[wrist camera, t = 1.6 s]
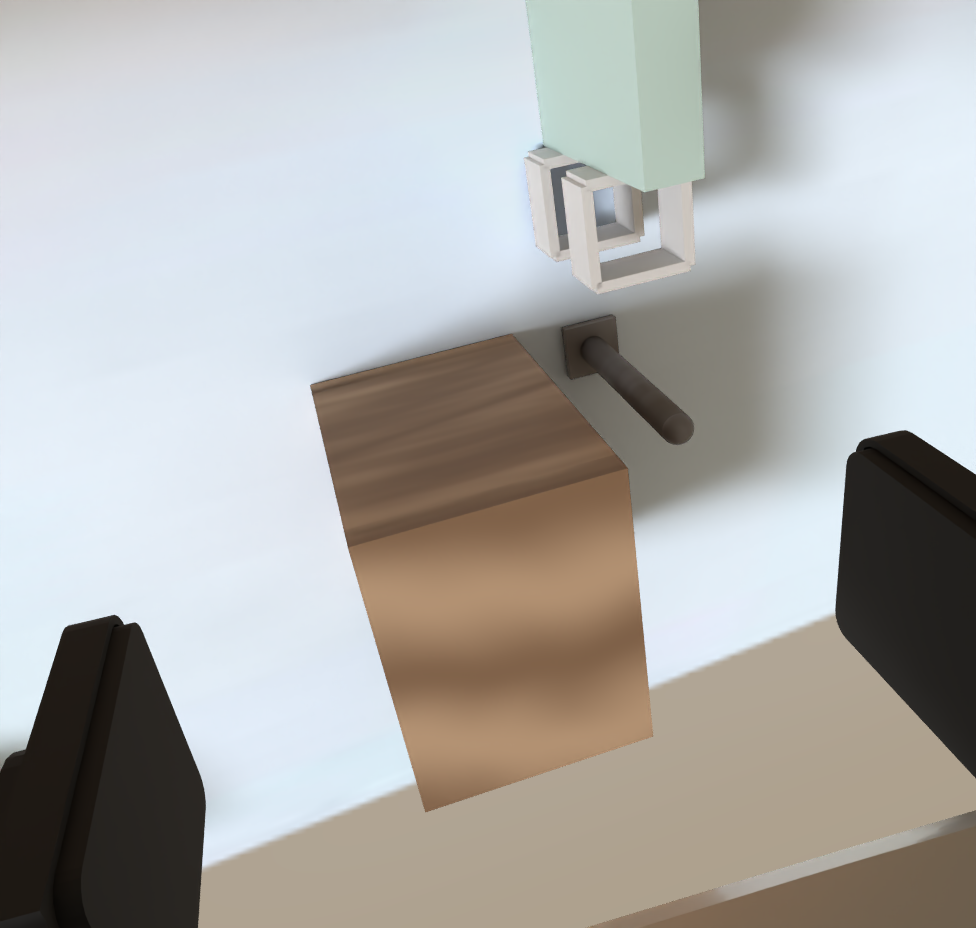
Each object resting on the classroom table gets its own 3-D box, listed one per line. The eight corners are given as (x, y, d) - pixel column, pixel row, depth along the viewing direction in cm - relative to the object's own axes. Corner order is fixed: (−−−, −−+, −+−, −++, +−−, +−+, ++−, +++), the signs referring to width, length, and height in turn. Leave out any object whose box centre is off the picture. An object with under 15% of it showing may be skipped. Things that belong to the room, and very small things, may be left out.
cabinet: (310, 385, 38) (348, 547, 27) (611, 308, 40) (763, 429, 29) (373, 604, 44) (425, 812, 33) (632, 528, 46) (765, 699, 35)
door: (473, -183, 30) (574, -254, 22) (584, -202, 31) (725, -277, 22) (532, 247, 38) (625, 322, 29) (620, 226, 38) (737, 293, 30)
